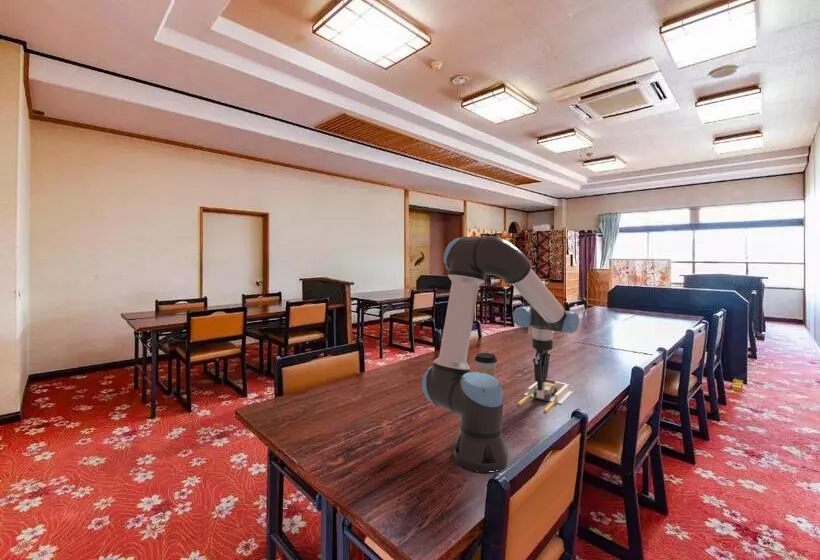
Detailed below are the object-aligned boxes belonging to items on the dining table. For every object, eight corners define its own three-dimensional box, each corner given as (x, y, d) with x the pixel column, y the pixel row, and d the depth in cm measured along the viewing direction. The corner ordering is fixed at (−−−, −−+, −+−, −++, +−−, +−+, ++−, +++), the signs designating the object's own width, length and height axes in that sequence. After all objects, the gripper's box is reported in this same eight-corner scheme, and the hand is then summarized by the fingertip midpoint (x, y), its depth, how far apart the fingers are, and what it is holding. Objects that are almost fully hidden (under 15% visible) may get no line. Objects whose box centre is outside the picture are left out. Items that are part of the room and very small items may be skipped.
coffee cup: (496, 394, 156) (497, 359, 155) (473, 392, 158) (474, 357, 157) (496, 386, 165) (496, 353, 164) (474, 384, 167) (475, 351, 166)
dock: (552, 414, 137) (552, 404, 137) (513, 403, 146) (513, 395, 146) (572, 392, 158) (573, 384, 158) (537, 384, 167) (537, 377, 167)
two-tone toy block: (548, 402, 147) (548, 388, 147) (533, 398, 151) (533, 385, 150) (557, 393, 156) (557, 380, 155) (542, 390, 159) (542, 377, 159)
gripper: (546, 342, 140) (544, 404, 141) (557, 337, 150) (555, 395, 151) (527, 339, 145) (525, 399, 146) (538, 335, 155) (536, 391, 156)
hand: (540, 397), depth 148 cm, fingers closed
